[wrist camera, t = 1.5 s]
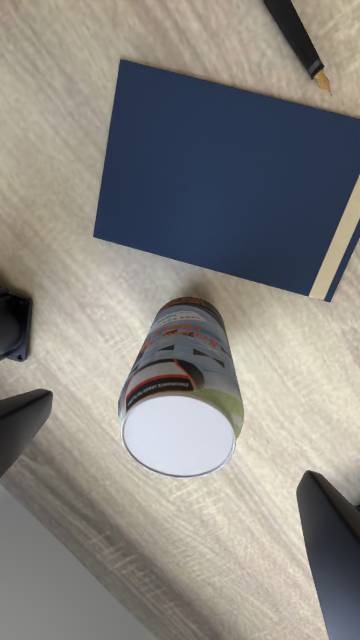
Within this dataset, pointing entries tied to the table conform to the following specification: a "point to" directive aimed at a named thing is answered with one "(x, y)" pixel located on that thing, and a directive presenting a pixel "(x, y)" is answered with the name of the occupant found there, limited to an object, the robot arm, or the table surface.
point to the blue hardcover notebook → (231, 181)
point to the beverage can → (182, 394)
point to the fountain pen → (298, 39)
